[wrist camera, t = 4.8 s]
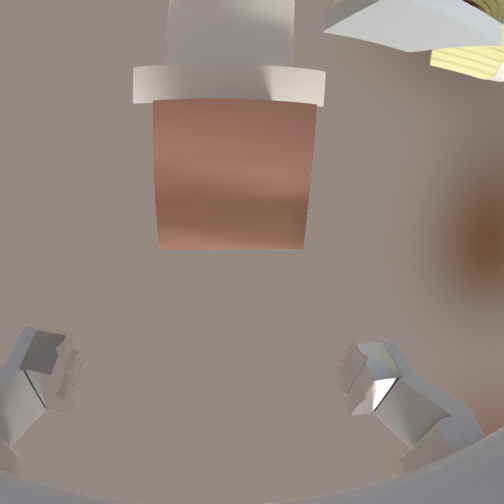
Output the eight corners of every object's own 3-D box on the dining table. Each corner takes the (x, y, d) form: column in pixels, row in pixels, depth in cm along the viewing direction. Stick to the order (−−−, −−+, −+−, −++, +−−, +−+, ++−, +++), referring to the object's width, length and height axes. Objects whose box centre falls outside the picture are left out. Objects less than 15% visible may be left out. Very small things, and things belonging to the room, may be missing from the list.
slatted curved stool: (494, 14, 37) (495, 83, 45) (429, -4, 43) (430, 65, 51) (535, -35, 13) (548, 66, 21) (438, -67, 19) (448, 30, 27)
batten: (152, 100, 8) (159, 249, 10) (316, 103, 8) (302, 249, 10) (202, 101, 29) (201, 144, 31) (247, 101, 29) (245, 144, 31)
